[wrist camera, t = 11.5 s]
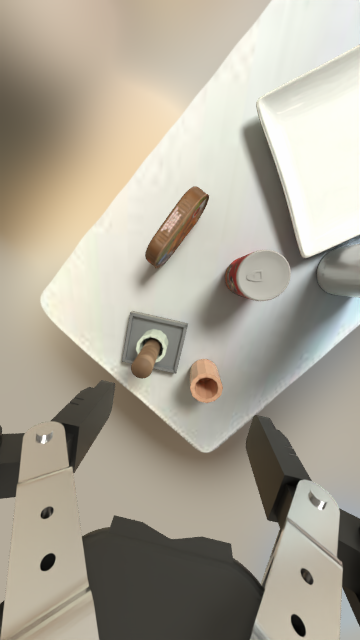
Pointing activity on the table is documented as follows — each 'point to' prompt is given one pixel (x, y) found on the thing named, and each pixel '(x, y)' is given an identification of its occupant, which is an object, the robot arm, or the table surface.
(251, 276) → the canned food
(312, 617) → the robot arm
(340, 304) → the table surface
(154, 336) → the holder
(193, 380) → the cup
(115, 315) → the table surface
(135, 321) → the tray
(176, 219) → the tin
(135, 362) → the peg
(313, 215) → the square plate
